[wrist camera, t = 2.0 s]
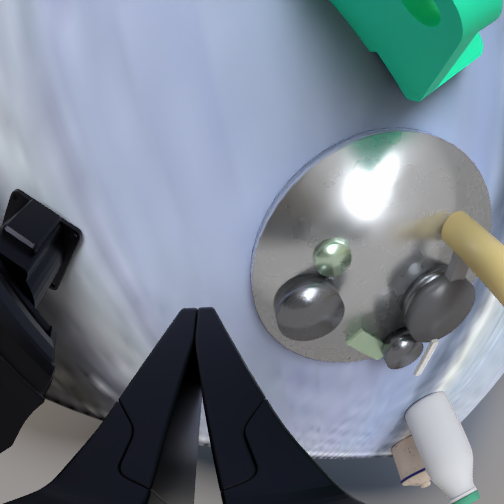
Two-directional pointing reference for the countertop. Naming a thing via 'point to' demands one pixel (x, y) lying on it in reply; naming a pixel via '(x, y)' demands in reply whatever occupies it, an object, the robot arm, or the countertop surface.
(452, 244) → the tan post with disc
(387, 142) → the plate
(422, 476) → the teacup with lid
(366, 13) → the camera mount
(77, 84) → the countertop surface
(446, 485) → the milk bottle
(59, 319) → the countertop surface
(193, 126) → the countertop surface
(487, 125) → the countertop surface
